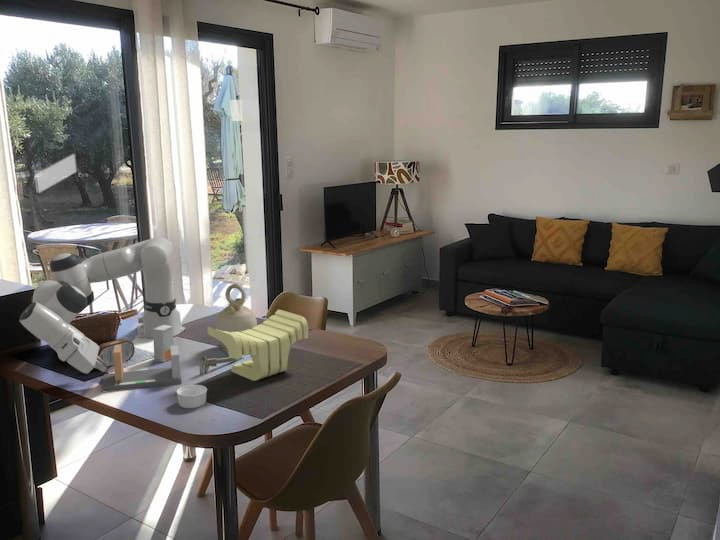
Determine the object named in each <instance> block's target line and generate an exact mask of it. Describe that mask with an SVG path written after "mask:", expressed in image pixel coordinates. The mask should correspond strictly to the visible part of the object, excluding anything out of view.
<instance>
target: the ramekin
mask: <svg viewBox="0 0 720 540" xmlns="http://www.w3.org/2000/svg"><path fill="white" fill-rule="evenodd" d="M207 391H208V388H207V386H205V385H202V384H188V385H183V386H180V387H179V388H178V389H177V390H176V395H177V402H178V405H179V406H180V408H184V409H196V408H200V407H202V406H204V405H205V404H206V402H207V393H208V392H207Z"/></svg>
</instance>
